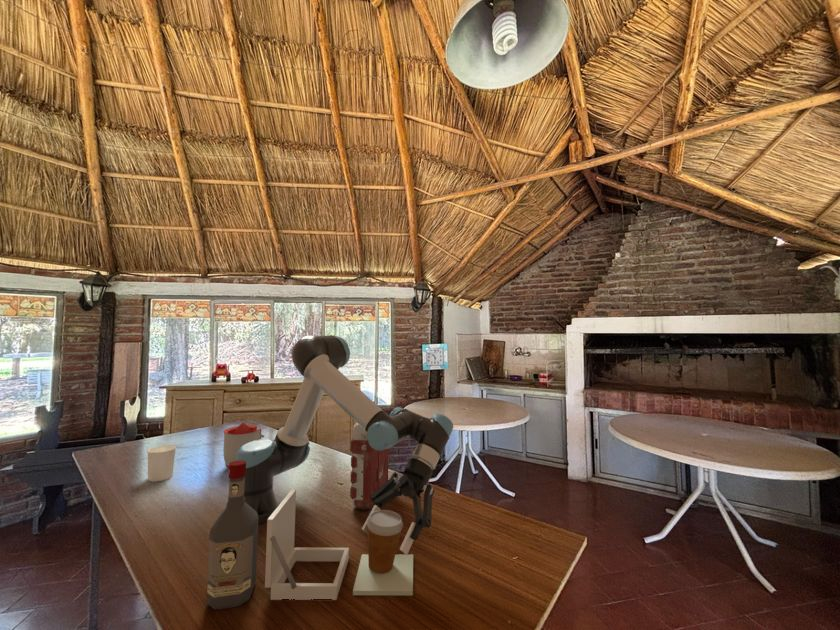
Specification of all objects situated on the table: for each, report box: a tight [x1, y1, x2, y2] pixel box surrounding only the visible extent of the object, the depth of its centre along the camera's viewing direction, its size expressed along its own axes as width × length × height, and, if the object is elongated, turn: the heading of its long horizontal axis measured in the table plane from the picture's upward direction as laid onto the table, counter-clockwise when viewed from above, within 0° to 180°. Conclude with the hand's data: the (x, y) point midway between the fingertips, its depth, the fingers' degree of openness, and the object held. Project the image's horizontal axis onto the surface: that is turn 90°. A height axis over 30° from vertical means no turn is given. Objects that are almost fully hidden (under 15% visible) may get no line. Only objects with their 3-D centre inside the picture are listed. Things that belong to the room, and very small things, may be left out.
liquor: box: [206, 460, 259, 611], centre depth 83 cm, size 9×9×30 cm
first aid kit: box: [349, 413, 390, 511], centre depth 134 cm, size 23×8×30 cm, turn 168°
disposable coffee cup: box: [366, 509, 404, 573], centre depth 92 cm, size 10×10×12 cm
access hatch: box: [264, 489, 350, 601], centre depth 89 cm, size 16×16×18 cm
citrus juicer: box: [223, 422, 265, 471], centre depth 165 cm, size 16×17×20 cm
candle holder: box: [147, 445, 177, 483], centre depth 150 cm, size 10×10×12 cm
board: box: [352, 553, 414, 596], centre depth 90 cm, size 14×14×1 cm
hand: (383, 541), depth 89 cm, fingers open, 13 cm apart
